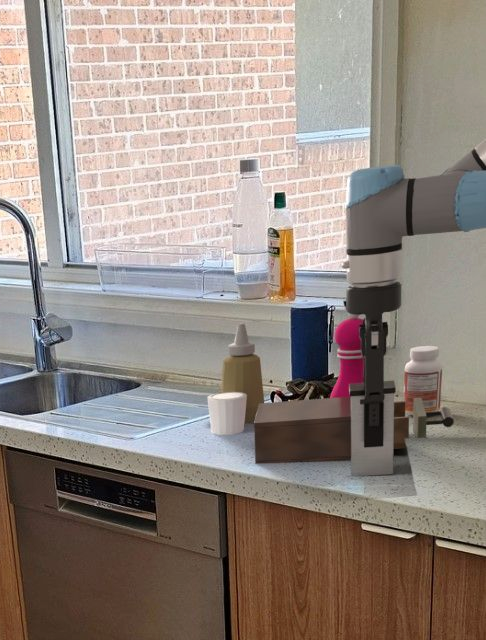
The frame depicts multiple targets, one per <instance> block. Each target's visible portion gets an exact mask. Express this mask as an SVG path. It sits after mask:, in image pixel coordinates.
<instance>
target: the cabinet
mask: <svg viewBox="0 0 486 640" xmlns="http://www.w3.org/2000/svg"><path fill="white" fill-rule="evenodd" d="M253 431H254V432H253V434H254V457H255V458H254V462H255V465H257V464H258V465H260V464H261V465H262V464H296V463H325V462H326V463H330V462H331V463H332V462H351V397H338V398H330V397H326V398H313V399H299V400H287V401H286V400H285V401H273V402H264V403H259V406H258V410H257V414H256V418H255V422H254V423H253Z"/></svg>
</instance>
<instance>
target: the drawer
mask: <svg viewBox="0 0 486 640" xmlns="http://www.w3.org/2000/svg"><path fill="white" fill-rule="evenodd" d="M434 416H435V417H436V416H439V417H440V419H431V420H430V419H429V420H427V419H428V418H427V417H434ZM412 418H413V419H412V431H413V436H414V439H426V438H427V426H433V425H434V426H435V425H443V426H444V427H445V428H451V427H452V426H453V425H454V423H455V420H454V417H453V414H452V411H451V409H450V408H449V407H448V406H446V407H445V406H444V407H442V408H440V410H439V411H433V412H425V409H424V405H423V402H422V398H414V401H413V415H412ZM409 438H410V417H409V416H406V413H405V401H403V400H398V401H397V400H396V401H394V448H393V450H394V449H398V450H399V449H407V443H406V439H409Z"/></svg>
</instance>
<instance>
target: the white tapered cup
mask: <svg viewBox="0 0 486 640" xmlns="http://www.w3.org/2000/svg"><path fill="white" fill-rule="evenodd" d="M246 399H247V395H246V394H245V393H241V392H223V393H220V392H217V393H213V394H210V395H208V396H207V405H208V406H207V407H208V415H209V423H210V432H211V434H212V435H218V436H231V435H237V434H241V433H243V432H245V424H244V422H245V411H246Z"/></svg>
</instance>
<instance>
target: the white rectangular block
mask: <svg viewBox="0 0 486 640" xmlns="http://www.w3.org/2000/svg"><path fill="white" fill-rule="evenodd" d="M396 391H397V389H396V383H395V380H392V379H391V380H384V395H385V399H384V433H383V447H367V448H364V404H360V400H361V399H364V398H365V383H354V384H349V395H350V396H351V461H350V477H368V476H385V475H386V476H387V475H394V449H393V448H394V402H395V394H396V393H397V392H396ZM373 393H379V392H373ZM370 394H371V393H370Z"/></svg>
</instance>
